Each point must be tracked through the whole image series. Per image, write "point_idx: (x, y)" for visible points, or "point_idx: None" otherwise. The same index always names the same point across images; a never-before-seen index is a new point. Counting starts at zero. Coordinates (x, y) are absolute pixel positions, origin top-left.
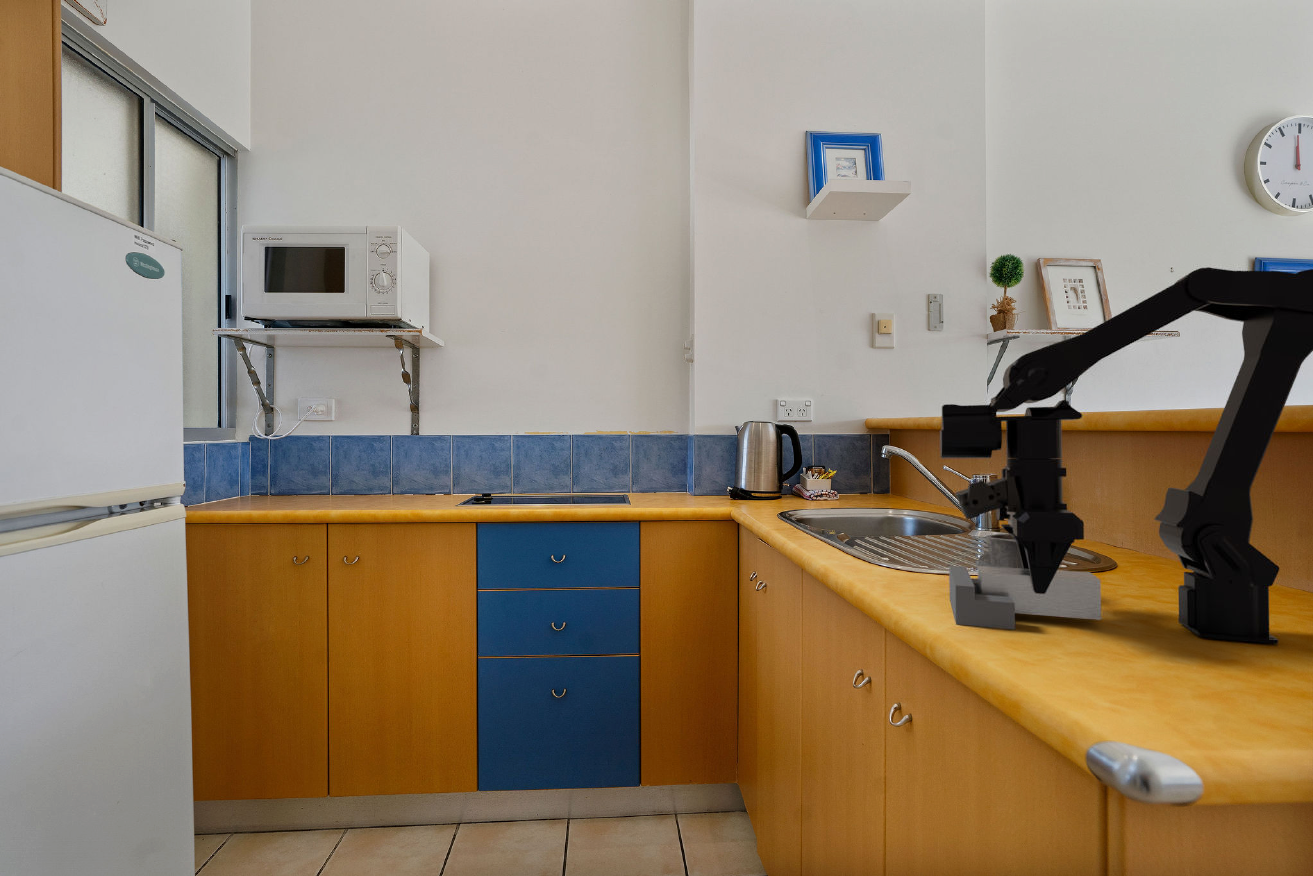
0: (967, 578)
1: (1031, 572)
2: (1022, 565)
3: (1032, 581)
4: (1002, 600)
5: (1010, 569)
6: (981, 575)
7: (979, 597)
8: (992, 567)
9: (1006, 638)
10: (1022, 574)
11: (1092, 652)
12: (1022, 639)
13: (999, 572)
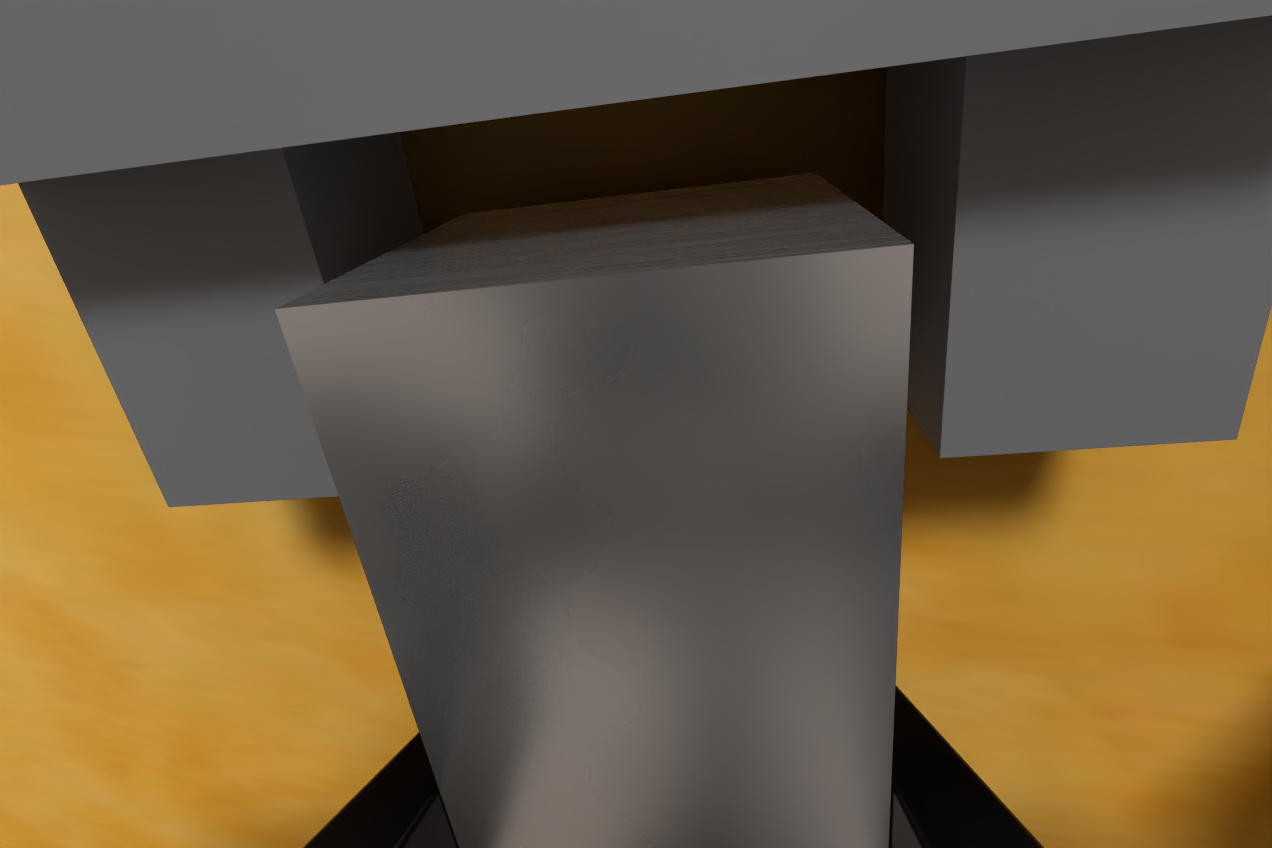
0: (354, 78)
1: (314, 841)
2: (965, 809)
3: (401, 755)
4: (190, 424)
5: (751, 662)
6: (302, 298)
7: (156, 226)
8: (839, 467)
9: (61, 355)
10: (471, 738)
11: (132, 687)
12: (111, 437)
13: (448, 535)
